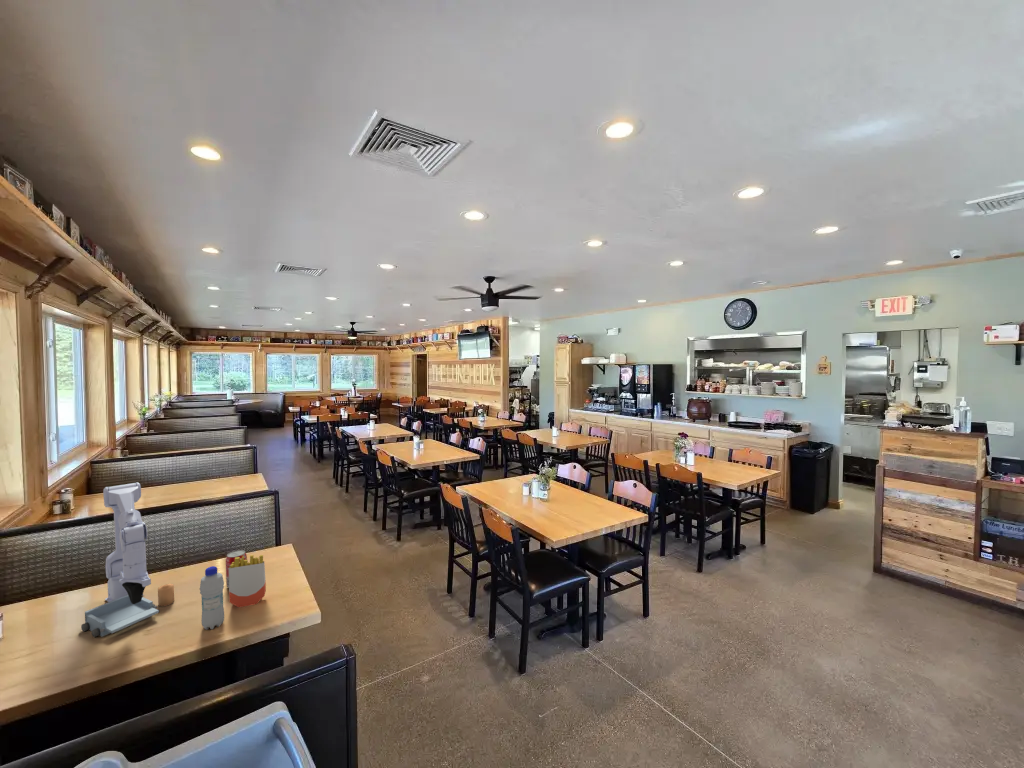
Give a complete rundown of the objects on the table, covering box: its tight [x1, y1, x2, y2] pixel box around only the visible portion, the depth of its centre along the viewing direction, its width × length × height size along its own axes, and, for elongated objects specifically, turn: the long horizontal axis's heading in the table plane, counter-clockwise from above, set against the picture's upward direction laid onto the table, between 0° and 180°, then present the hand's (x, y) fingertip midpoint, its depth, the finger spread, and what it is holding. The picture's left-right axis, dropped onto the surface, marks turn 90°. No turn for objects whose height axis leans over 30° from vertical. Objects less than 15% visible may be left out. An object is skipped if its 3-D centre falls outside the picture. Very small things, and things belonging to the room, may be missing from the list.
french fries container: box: [228, 554, 267, 608], centre depth 159 cm, size 5×11×18 cm, turn 113°
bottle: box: [199, 565, 225, 630], centre depth 145 cm, size 7×7×20 cm
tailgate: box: [106, 608, 160, 634], centre depth 144 cm, size 1×13×4 cm
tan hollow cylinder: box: [157, 583, 175, 607], centre depth 159 cm, size 5×5×7 cm
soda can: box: [225, 549, 248, 589], centre depth 171 cm, size 7×7×13 cm
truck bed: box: [80, 595, 158, 638], centre depth 147 cm, size 12×17×6 cm
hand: (136, 602), depth 143 cm, fingers closed
